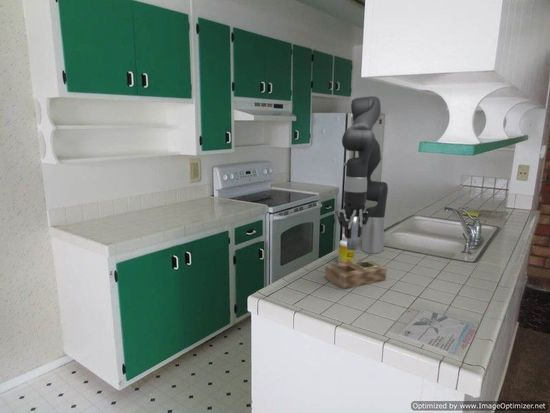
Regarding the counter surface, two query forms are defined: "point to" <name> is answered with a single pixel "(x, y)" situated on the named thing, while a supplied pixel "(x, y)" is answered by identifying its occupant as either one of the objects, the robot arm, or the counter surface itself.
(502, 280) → the counter surface
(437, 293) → the counter surface
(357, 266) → the bore block
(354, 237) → the pin
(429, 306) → the counter surface
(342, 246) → the supplement bottle
